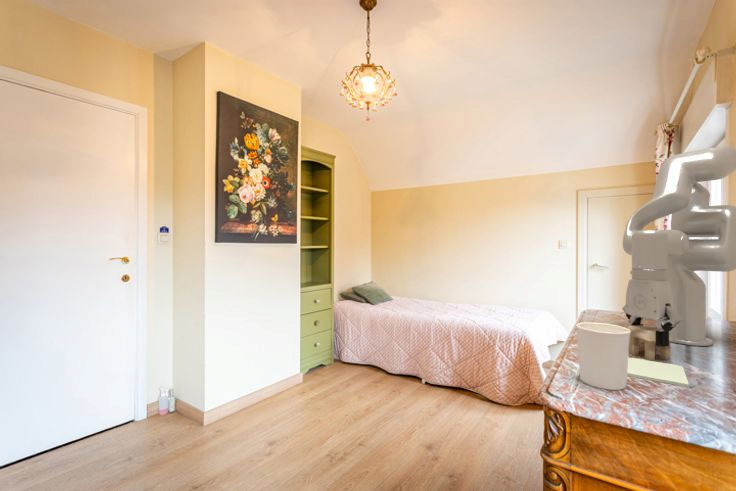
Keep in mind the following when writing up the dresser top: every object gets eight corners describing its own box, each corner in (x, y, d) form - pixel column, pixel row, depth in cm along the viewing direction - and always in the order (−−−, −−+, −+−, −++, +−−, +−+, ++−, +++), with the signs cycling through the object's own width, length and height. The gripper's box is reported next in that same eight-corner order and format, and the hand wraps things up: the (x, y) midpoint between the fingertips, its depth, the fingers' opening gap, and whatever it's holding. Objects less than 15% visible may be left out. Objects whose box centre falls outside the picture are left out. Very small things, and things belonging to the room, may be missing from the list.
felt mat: (620, 358, 90) (620, 356, 90) (682, 368, 82) (682, 366, 82) (618, 373, 79) (618, 371, 79) (689, 387, 72) (689, 384, 72)
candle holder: (566, 377, 77) (566, 324, 77) (594, 371, 81) (594, 320, 81) (611, 395, 68) (611, 335, 68) (641, 387, 72) (641, 330, 72)
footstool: (627, 352, 95) (627, 325, 95) (648, 351, 95) (648, 325, 95) (649, 360, 88) (649, 331, 88) (672, 359, 89) (672, 331, 89)
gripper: (610, 273, 100) (610, 334, 100) (668, 279, 83) (668, 352, 83) (633, 273, 101) (633, 333, 101) (696, 278, 84) (696, 351, 84)
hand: (649, 341), depth 92 cm, fingers closed on footstool, 6 cm apart
